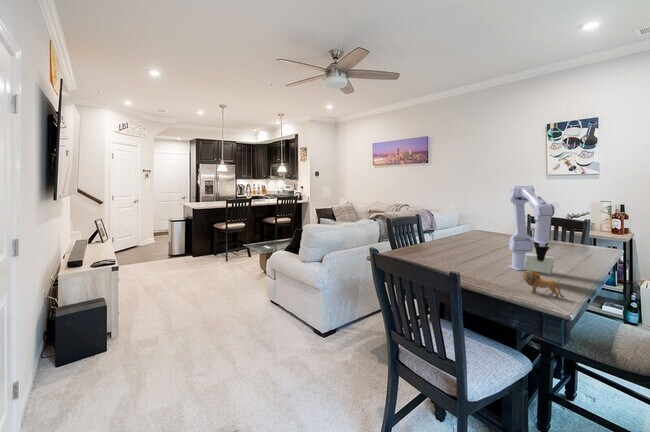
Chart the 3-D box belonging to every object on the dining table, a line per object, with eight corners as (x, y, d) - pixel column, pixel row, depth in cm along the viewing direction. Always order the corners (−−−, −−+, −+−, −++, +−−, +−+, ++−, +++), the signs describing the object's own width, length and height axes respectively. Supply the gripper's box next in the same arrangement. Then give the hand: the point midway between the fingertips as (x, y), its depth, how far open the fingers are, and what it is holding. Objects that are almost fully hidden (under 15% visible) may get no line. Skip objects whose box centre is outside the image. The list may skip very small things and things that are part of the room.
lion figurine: (520, 292, 132) (522, 271, 130) (522, 288, 136) (523, 268, 135) (564, 300, 123) (566, 278, 122) (564, 296, 127) (566, 275, 126)
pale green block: (524, 269, 145) (525, 255, 144) (524, 265, 152) (525, 252, 151) (552, 273, 140) (553, 258, 139) (550, 269, 146) (552, 255, 145)
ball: (533, 268, 149) (531, 277, 150) (525, 268, 148) (524, 278, 148) (543, 271, 145) (541, 281, 145) (535, 272, 143) (534, 282, 144)
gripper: (531, 227, 151) (529, 254, 153) (532, 231, 139) (530, 261, 141) (549, 228, 148) (546, 256, 149) (551, 233, 135) (549, 263, 137)
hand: (539, 259), depth 145 cm, fingers closed on pale green block, 6 cm apart
